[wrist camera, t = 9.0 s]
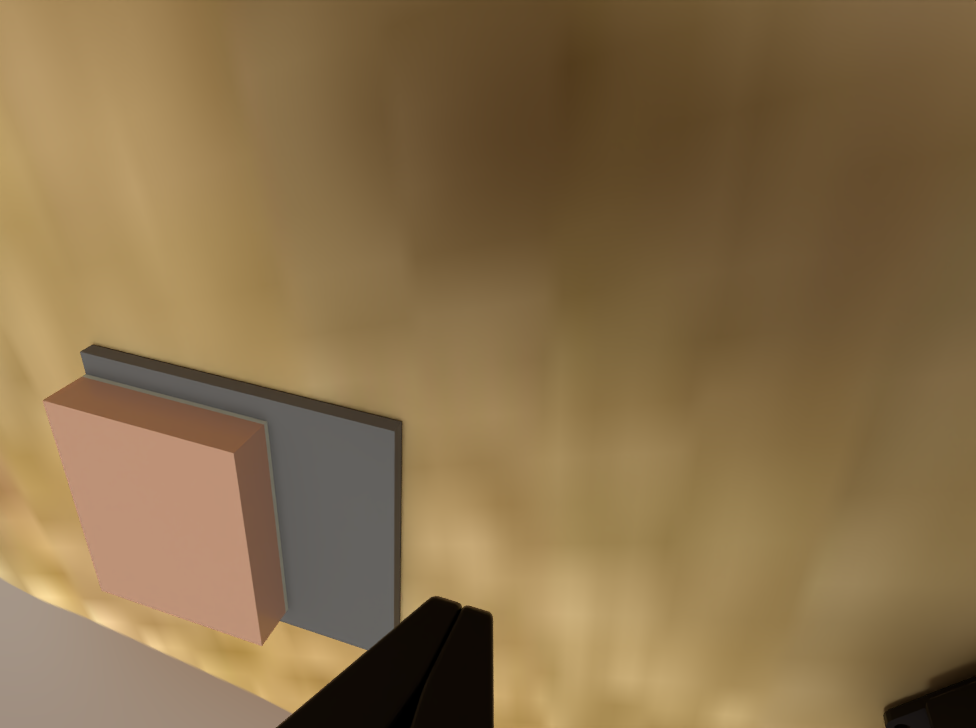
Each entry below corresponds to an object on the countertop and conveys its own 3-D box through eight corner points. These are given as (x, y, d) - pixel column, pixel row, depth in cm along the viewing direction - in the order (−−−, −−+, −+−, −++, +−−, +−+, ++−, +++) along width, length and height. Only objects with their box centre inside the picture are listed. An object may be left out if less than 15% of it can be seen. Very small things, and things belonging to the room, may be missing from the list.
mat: (401, 421, 24) (394, 431, 23) (399, 647, 30) (393, 659, 29) (92, 344, 26) (80, 351, 26) (148, 564, 33) (138, 573, 32)
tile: (233, 453, 23) (42, 400, 25) (261, 645, 28) (101, 590, 30) (267, 421, 25) (85, 374, 26) (288, 608, 30) (134, 558, 32)
